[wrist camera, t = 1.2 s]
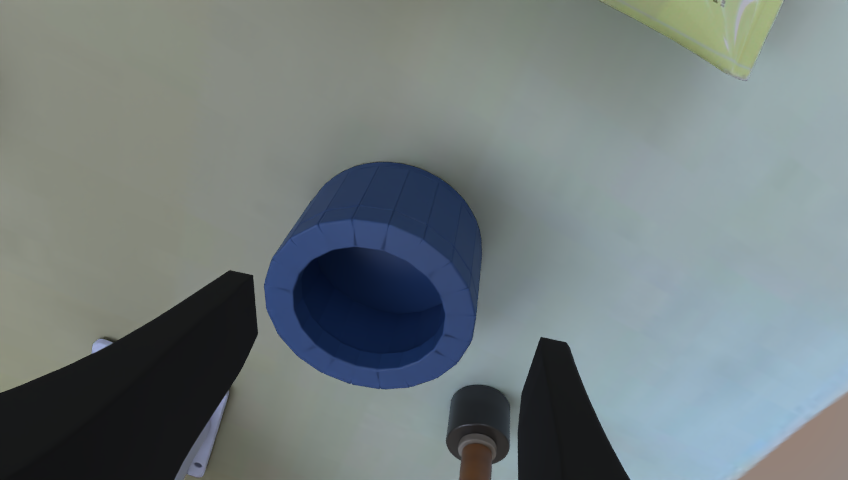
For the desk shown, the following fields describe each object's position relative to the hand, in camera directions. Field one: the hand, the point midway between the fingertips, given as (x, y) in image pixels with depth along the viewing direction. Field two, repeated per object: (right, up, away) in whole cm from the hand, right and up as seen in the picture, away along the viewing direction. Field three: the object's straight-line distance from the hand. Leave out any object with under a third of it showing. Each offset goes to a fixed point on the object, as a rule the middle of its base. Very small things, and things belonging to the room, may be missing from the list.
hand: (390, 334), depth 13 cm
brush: (+4, -7, +16) cm, 18 cm away
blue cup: (-1, +2, +11) cm, 12 cm away
